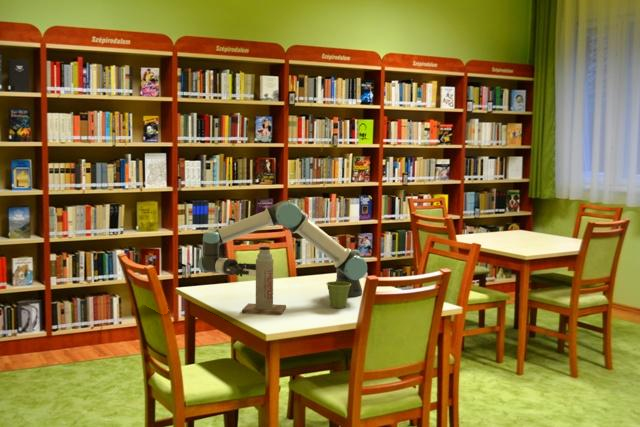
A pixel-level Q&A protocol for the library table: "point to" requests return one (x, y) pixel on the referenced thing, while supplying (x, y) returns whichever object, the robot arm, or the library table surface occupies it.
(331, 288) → the plant pot
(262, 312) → the walnut board
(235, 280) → the library table surface
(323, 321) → the library table surface
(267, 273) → the thermos bottle
